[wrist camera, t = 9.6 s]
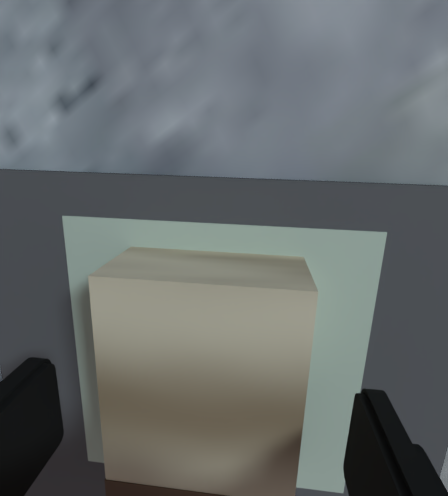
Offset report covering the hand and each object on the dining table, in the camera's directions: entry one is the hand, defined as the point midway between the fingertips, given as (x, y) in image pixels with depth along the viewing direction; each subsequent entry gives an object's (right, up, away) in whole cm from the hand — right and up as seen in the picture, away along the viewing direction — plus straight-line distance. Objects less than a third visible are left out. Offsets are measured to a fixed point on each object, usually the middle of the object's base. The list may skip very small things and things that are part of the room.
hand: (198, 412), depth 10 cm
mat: (0, -6, +5) cm, 8 cm away
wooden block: (0, +1, +3) cm, 3 cm away
